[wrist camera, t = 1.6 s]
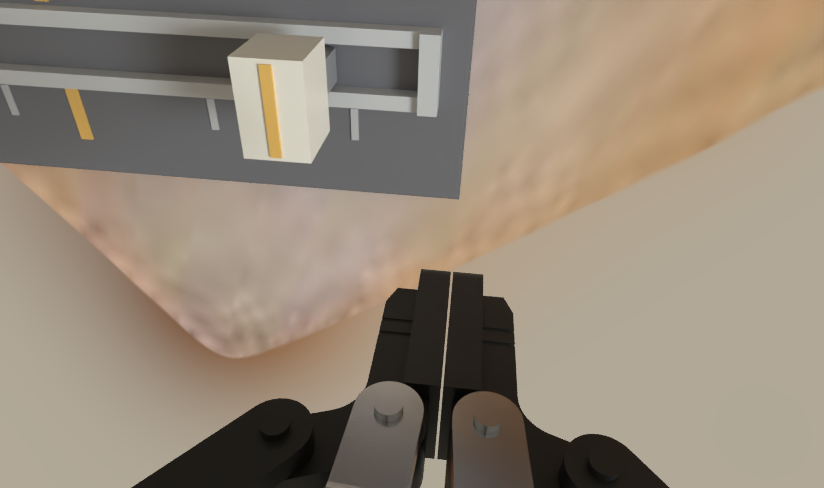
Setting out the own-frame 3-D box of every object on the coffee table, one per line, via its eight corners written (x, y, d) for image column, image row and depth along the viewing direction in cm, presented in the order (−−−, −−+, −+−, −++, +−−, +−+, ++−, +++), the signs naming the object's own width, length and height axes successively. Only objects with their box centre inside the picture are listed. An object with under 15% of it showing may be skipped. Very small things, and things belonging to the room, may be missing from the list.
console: (-159, -133, 28) (-231, -131, 25) (486, -108, 25) (485, -103, 22) (-29, 144, 36) (-72, 168, 34) (460, 182, 34) (458, 212, 31)
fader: (279, 15, 27) (226, 57, 22) (340, 19, 27) (301, 62, 21) (288, 102, 30) (242, 159, 24) (343, 106, 30) (310, 165, 24)
